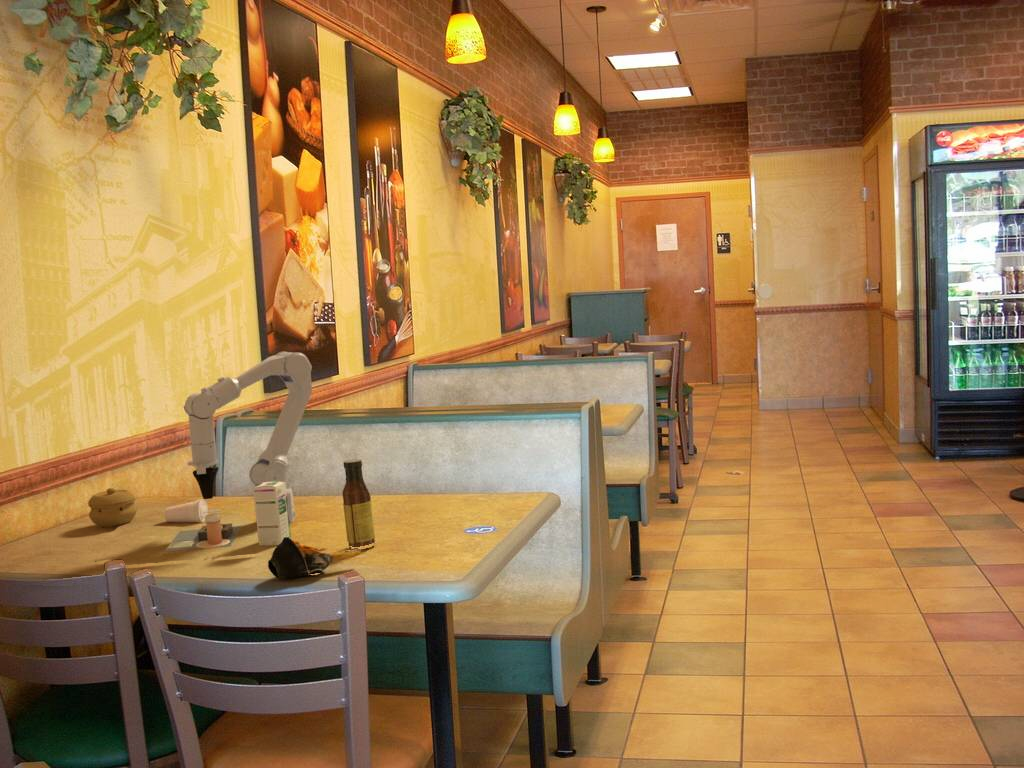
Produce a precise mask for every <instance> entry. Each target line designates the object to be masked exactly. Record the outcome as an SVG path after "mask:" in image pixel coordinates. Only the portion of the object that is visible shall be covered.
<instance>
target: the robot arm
mask: <svg viewBox="0 0 1024 768" xmlns="http://www.w3.org/2000/svg"><path fill="white" fill-rule="evenodd" d="M312 369H313V366H312V364H311V362H310V360H309V358H308V356H307V355H306V354H304V353H302V352H290V351H289V352H288V351H285V350H284V351H280V352H278V353H276V354H274V355H271V356H268V357H267V358H265V359H264V360H262V361H260V362H259V363H258V364H256V365H254V366H252V367H251V368H249V369H247V370H246V371H244V372H243V373H241V374H240V375H237V377H233V378H232V377H231V376H227V377H223V376H221V377H219V378H218V379H217V382H215V383H213V384H212V385H210V386H208V387H202V388H201V389H200V393H199V392H198V393H197V392H196V393H192V394H190V395H188V397H187V399H186V400H185V402H184V406H183V410H184V412H185V413H186V414H187V415H188V423H189V426H188V427H189V439H190V448H191V449H190V450H191V458H192V459H191V461H188V462H187V466H189V467H190V466H192V467H194V468H195V470H193V471H192V476H193V477H194V478H195V480H196V482H197V484H198V487H199V490H200V492H201V493H200V494H201V496H202V499H204V500H210V499H213V498H214V495H215V494H214V493H215V483H216V477H217V474H218V472H219V467H218V466H215V465H217V464H218V463H219V460H218V458H217V457H218V455H217V453H218V452H217V444H216V434H215V424H214V414H215V413H216V410H219V409H221V408H222V407H224V406H226V405H228V404H229V403H231V402H233V401H235V400H237V399H238V398H240V397H241V395H242V394H241V393H242V391H243V390H244V389H246V388H248V387H250V386H252V385H254V384H256V383H257V382H260V381H261V380H264V379H265V378H268V377H269V376H278V377H279V378H280V379H281V380H282V381H283V382H284V384H285V386H286V388H287V390H288V393H287V396H286V399H285V401H284V404H283V407H282V409H281V412H280V414H279V416H278V419H277V420H276V421H277V422H276V424H275V426H274V428H273V431H272V434H271V437H270V438H269V441H268V444H267V446H266V448H265V450H264V451H263V452H262V453H261V454H260V455H259V456H258V459H257V461H256V462H255V463H253V465H252V466H250V470H249V473H248V474H249V479H250V481H251V483H252V484H253V485H254V487H257V486H258V485H261V484H262V483H263V482H273V481H281V482H285V483H286V481H287V468H288V466H289V463H288V458H287V456H288V453H289V451H290V448H291V445H292V443H293V441H294V438H295V435H296V433H297V430H298V428H299V425H300V423H301V420H302V418H303V416H304V413H305V410H306V408H307V406H308V403H309V401H310V398H311V395H312V392H313V387H312V386H313V385H312V374H311V373H312ZM286 493H287V502H288V512H289V523H291V524H292V523H294V520H295V518H296V511H295V505H294V493H293V489H292V488H286Z"/></svg>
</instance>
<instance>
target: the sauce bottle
mask: <svg viewBox="0 0 1024 768" xmlns="http://www.w3.org/2000/svg"><path fill="white" fill-rule="evenodd" d="M362 467H363V462H362V459H360V458H353V459H347V460H344V461H343V468H344V472H345V473H344V474H345V485H344V487H343V490H342V499H343V501H342V502H343V504H342V505H343V506H342V507H343V515H344V522H345V530H346V531H345V532H346V540H347V544H348V547H349V546H352V547H360V546H365V545H369V544H372V543H374V542H375V543H376V539H375V538H376V533H375V532H376V531H375V526H374V525H375V523H374V513H373V505H372V499H371V494H370V492H369V489H368V488H367V485H366V483H365V480H364V476H363V469H362Z"/></svg>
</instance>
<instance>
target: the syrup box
mask: <svg viewBox="0 0 1024 768" xmlns="http://www.w3.org/2000/svg"><path fill="white" fill-rule="evenodd" d="M286 489H287V484H286V482H281V481H273V482H263V483H262V484H261V485H258V486H257V487H255V486H254V487H253V488H252V492H253V499H254V500H253V501H254V509H255V519H256V521H255V522H256V527H257V528H256V530H257V531H256V532H257V541H258V546H278V545H279V544H280V543H281V542H282V541H283V538H285V537H288V538H290V539H291V540H292V535H291V524H290V523H289V512H288V502H287V493H286Z"/></svg>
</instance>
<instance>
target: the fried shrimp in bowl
mask: <svg viewBox="0 0 1024 768" xmlns="http://www.w3.org/2000/svg"><path fill="white" fill-rule="evenodd" d="M327 549H328V548H326V547H323V548H317V547H313V546H309V545H306V544H304V545H302V544H301V542H300V541H299V540H292V538H291V539H290V538H288V537H285V538H283V541H282V542H281V543H280V544H279V545H276V547H274V550H273V552H272V555H271V557H270V559H269V560H268V562H267V567H268V570H269V571H270V572H271V574H272V575H273V576H274V577H275V578H276V579H279V578H286V579H293V578H294V577H295V578H298V577H301V576H303V575H305V576H309V575H310V574H315V573H321V574H323V572H324V570H326V569H327V568H328V566H329V565H330V564H331V562H332V561H334V560H335V561H336V560H346V559H348V558H351V559H352V558H354V557H357V556H360V555H361V554H362V550H361V549H358V548H354V549H347V550H346V549H345V550H340V551H337V552H336V551H335V552H334V551H333V552H330V553H326V552H322V551H326V550H327Z"/></svg>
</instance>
